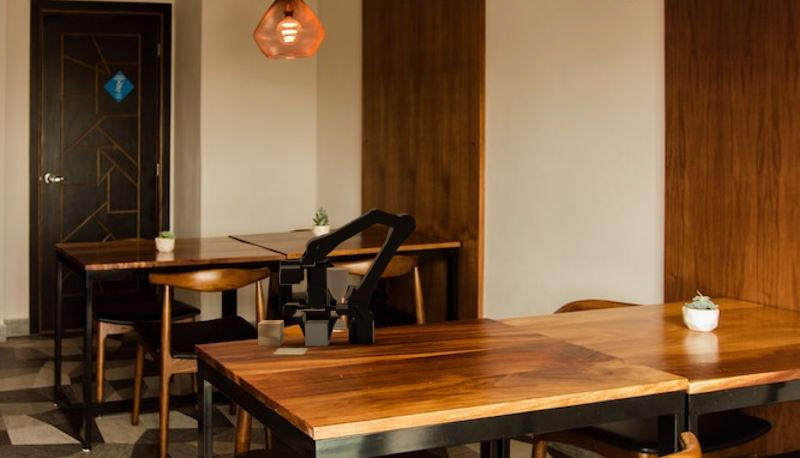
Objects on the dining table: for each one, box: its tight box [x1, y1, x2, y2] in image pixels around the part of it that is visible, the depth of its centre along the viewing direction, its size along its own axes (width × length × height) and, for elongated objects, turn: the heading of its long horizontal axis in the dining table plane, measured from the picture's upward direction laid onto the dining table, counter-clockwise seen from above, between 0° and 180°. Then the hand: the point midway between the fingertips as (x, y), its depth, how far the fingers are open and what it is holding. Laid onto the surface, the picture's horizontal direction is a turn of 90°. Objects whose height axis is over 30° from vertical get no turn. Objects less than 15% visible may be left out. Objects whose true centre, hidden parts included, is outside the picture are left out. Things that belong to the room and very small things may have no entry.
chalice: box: [327, 267, 351, 330], centre depth 304 cm, size 7×7×18 cm
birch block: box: [257, 319, 285, 347], centre depth 279 cm, size 6×6×6 cm
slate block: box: [304, 319, 331, 347], centre depth 278 cm, size 6×6×6 cm
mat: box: [272, 347, 309, 356], centre depth 267 cm, size 8×8×1 cm
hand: (317, 340), depth 278 cm, fingers closed on slate block, 6 cm apart
